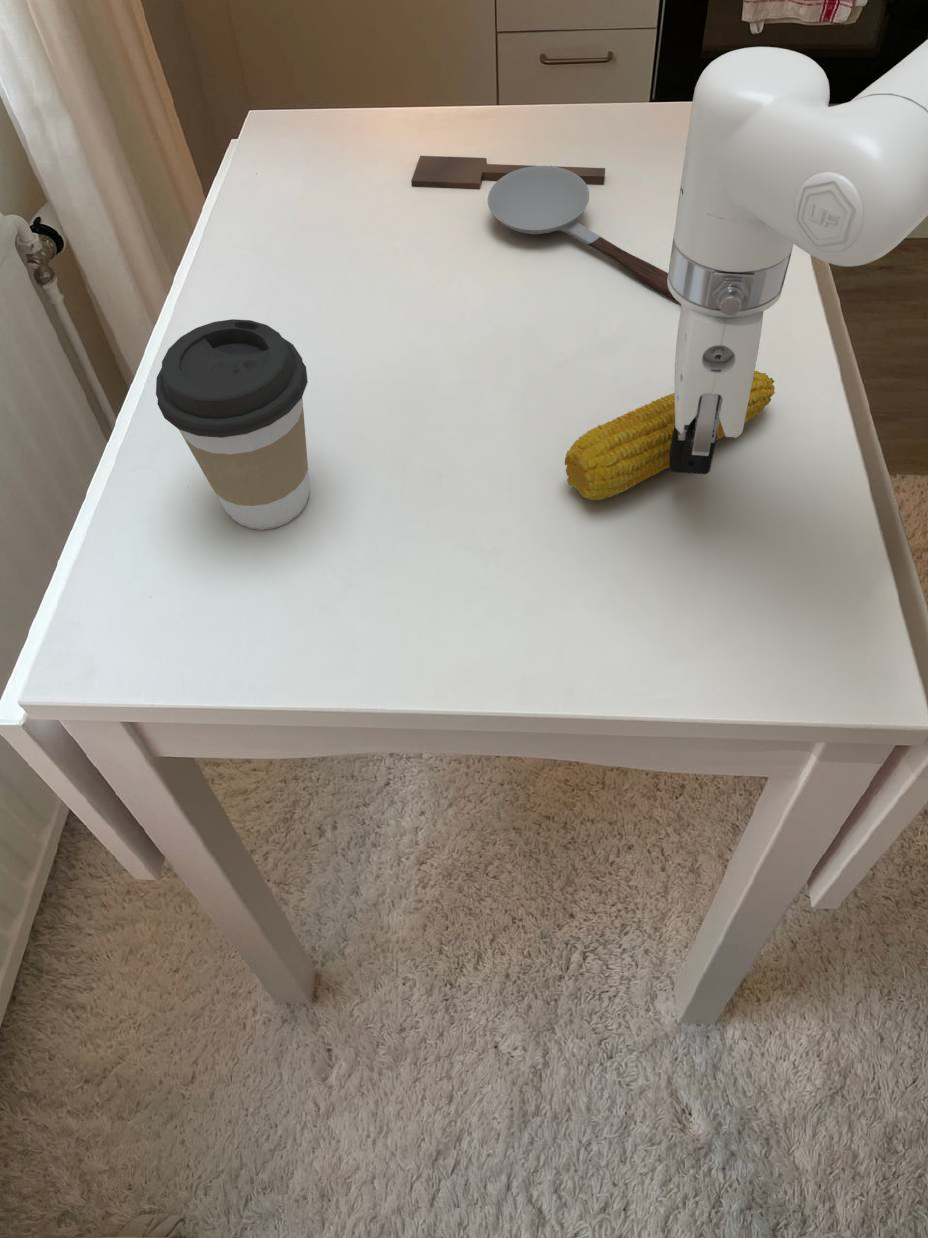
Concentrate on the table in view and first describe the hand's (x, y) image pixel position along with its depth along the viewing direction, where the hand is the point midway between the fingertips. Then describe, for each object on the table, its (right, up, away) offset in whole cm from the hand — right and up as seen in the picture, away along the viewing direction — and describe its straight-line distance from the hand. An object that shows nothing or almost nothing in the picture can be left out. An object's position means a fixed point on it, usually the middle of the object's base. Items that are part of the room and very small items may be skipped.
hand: (688, 465), depth 77 cm
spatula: (-13, +39, +33) cm, 53 cm away
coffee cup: (-35, -2, +5) cm, 35 cm away
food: (-1, +2, +6) cm, 6 cm away
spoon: (-3, +25, +23) cm, 34 cm away
